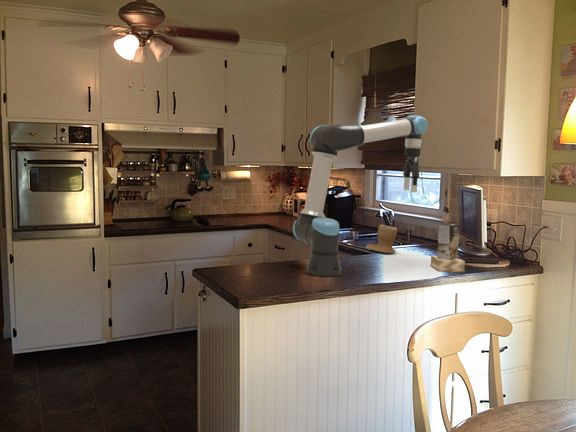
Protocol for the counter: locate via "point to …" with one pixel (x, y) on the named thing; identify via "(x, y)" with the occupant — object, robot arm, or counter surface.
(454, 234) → the coffee box
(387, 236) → the tan boot
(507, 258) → the counter surface
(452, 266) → the maple riser
